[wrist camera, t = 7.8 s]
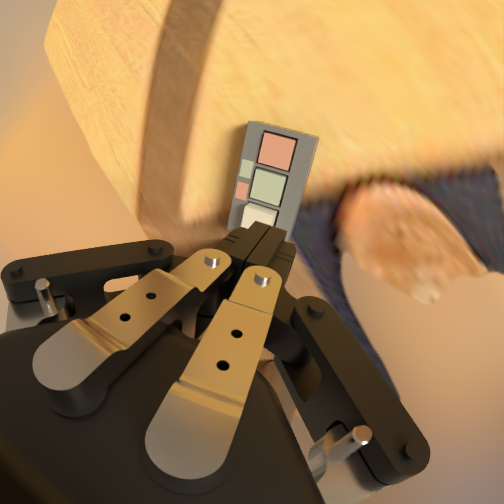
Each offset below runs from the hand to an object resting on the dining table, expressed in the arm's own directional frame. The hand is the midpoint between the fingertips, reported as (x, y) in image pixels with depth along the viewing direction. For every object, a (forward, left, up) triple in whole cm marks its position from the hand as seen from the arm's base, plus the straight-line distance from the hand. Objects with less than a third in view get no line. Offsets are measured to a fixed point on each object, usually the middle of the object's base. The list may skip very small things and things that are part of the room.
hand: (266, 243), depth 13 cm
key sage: (-2, +7, -25) cm, 26 cm away
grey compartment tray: (-2, +7, -27) cm, 28 cm away
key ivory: (-7, +9, -24) cm, 26 cm away
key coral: (+3, +5, -25) cm, 26 cm away
